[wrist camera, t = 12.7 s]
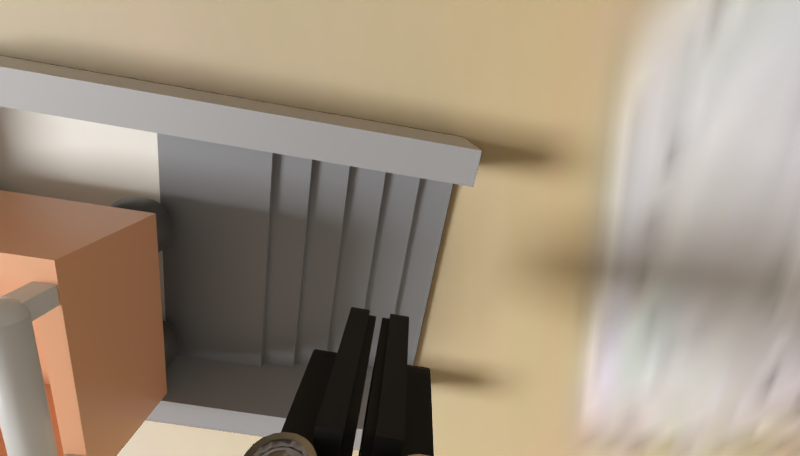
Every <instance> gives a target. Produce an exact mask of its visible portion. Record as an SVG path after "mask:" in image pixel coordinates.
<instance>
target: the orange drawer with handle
mask: <svg viewBox="0 0 800 456" xmlns="http://www.w3.org/2000/svg"><path fill="white" fill-rule="evenodd" d="M173 233H174V223H173V219H172V216H171V215H170V213H169V211H168V210H167V209H166V208H165V207H164V206H163V205H161V204H160V203H158V202H156V201H154V200H152V199H149V198H145V197H128V198H124V199H121V200H118V201H116V202H114V203H113V204H112V205H110V206H103V205H97V204H90V203H83V202H77V201H70V200H63V199H57V198H50V197H43V196H37V195H30V194H24V193H17V192H10V191H4V190H0V456H117V454H118V453H119V452H120V451H121V449H122V448H123V447H124V446H125V444H126V443H127V442H128V441H129V439H130V438H131V437H132V436H133V435H134V433H135V432H136V431H137V430H138V428H139V427H140V426H141V425H142V423H143V422H144V421H145V420H146V418H147V417H148V416H149V415H150V414H151V412H152V411H153V410H154V409H155V407H156V406H157V405H158V404H159V402H160V401H161V400H162V399H163V397H164V396H165V395H166V394H167V382H166V367H167V366H168V365H169V364H170V363H171V362H172V361H173V359H174V358H175V356H176V354H177V352H178V349H179V342H180V341H179V335H178V333H177V331H176V329H175V328H174V327H173V326H172V325H171V324H170V323H168V322H166V321H164V320H162V304H161V289H160V273H159V257H158V253H159V252H160V251H162V250H163V249H164V248H165V247H166V246H167V245H168V244H169V242H170V241H171V239H172V236H173Z"/></svg>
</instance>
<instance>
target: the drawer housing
mask: <svg viewBox="0 0 800 456" xmlns="http://www.w3.org/2000/svg"><path fill="white" fill-rule="evenodd" d="M481 153H482V150H480V149H479V148H477V147H476V146H475V145H473V144H472V143H470V142H469V141H468V140H466V139H465V138H463V137H461V136H455V135H450V134H444V133H438V132H432V131H427V130H421V129H415V128H410V127H404V126H398V125H393V124H387V123H381V122H376V121H370V120H364V119H359V118H353V117H347V116H342V115H336V114H330V113H325V112H319V111H313V110H307V109H302V108H296V107H290V106H285V105H279V104H273V103H268V102H262V101H256V100H251V99H245V98H239V97H234V96H228V95H222V94H217V93H211V92H205V91H200V90H194V89H188V88H182V87H177V86H171V85H165V84H160V83H154V82H148V81H143V80H137V79H131V78H126V77H120V76H114V75H109V74H103V73H97V72H92V71H86V70H80V69H75V68H69V67H63V66H57V65H52V64H46V63H40V62H35V61H29V60H23V59H18V58H12V57H6V56H1V55H0V190H4V191H10V192H17V193H24V194H30V195H37V196H43V197H50V198H57V199H63V200H70V201H77V202H83V203H90V204H97V205H103V206H110V205H112V204H113V203H114V202H116V201H118V200H121V199H124V198H128V197H145V198H149V199H152V200H154V201H156V202H158V203H160V204H161V205H163V206H164V207H165V208H166V209H167V210H168V211H169V213H170V215H171V216H172V219H173V223H174V233H173V236H172V239H171V241H170V242H169V244H168V245H167V246H166V247H165V248H164V249H163V250H162V251H160V252H159V253H158V257H159V273H160V289H161V304H162V320H164V321H166V322H168V323H170V324H171V325H172V326H173V327H174V328H175V329H176V331H177V333H178V335H179V341H180V342H179V349H178V352H177V354H176V356H175V358H174V359H173V361H172V362H171V363H170V364H169V365H168V366H167V367H166V382H167V394H166V395H165V396H164V397H163V399H162V400H161V401H160V402H159V404H158V405H157V406H156V407H155V409H154V410H153V411H152V412H151V414H150V415H149V416H148V417H147V418H146V420H148V421H155V422H162V423H169V424H176V425H183V426H190V427H197V428H204V429H212V430H219V431H226V432H233V433H240V434H247V435H254V436H261V437H266V436H268V435H271V434H274V433H281V431H282V428H283V425H284V423H285V420H286V418H287V415H288V413H289V410H290V408H291V405H292V403H293V400H294V398H295V395H296V393H297V390H298V388H299V385H300V383H301V380H302V378H303V375H304V373H305V370H306V368H307V365H308V363H309V360H310V358H311V355H312V353H313V351H314V350H315V349H318V350H324V351H330V352H336V353H337V352H338V349H339V346H340V343H341V339H342V336H343V333H344V329H345V326H346V323H347V320H348V316H349V313H350V310H351V307H355V308H361V309H367V310H370V314H369V315H372V316H376V322H375V328H374V333H373V339H372V345H371V351H370V357H369V362H368V368H367V374H366V380H365V386H364V391H363V397H362V403H361V408H360V414H359V419H358V425H357V430H356V436H355V441H354V447H353V449H354V450H360V444H361V438H362V431H363V425H364V419H365V413H366V407H367V401H368V395H369V389H370V383H371V378H372V372H373V367H374V361H375V356H376V350H377V345H378V339H379V333H380V328H381V322H382V317H383V318H390V314H396V315H402V316H408V317H409V334H408V358H407V365H413V363H414V359H415V354H416V350H417V345H418V341H419V336H420V332H421V327H422V323H423V318H424V313H425V309H426V304H427V300H428V295H429V291H430V286H431V282H432V277H433V273H434V268H435V263H436V259H437V254H438V250H439V245H440V241H441V236H442V232H443V227H444V223H445V218H446V213H447V209H448V204H449V200H450V195H451V191H452V186H453V184H458V185H464V186H470V187H474V182H475V178H476V174H477V170H478V166H479V161H480V157H481Z"/></svg>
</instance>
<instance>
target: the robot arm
mask: <svg viewBox="0 0 800 456" xmlns="http://www.w3.org/2000/svg"><path fill="white" fill-rule="evenodd" d="M369 314H370V310H367V309H361V308H355V307H351V310H350V313H349V316H348V320H347V323H346V326H345V329H344V333H343V336H342V339H341V343H340V346H339V349H338V352H337V353H336V352H330V351H324V350H318V349H315V350H314V351H313V353H312V355H311V358H310V360H309V363H308V365H307V368H306V370H305V373H304V375H303V378H302V380H301V383H300V385H299V388H298V390H297V393H296V395H295V398H294V400H293V403H292V405H291V408H290V410H289V413H288V415H287V418H286V420H285V423H284V425H283V428H282V431H281V433H274V434H271V435H268V436H266V437H263V438H262V439H260V440H259V441H257V442H256V443H255V444H253V445H252V446H251V448H250V449H249V450H248V451H247V452H246V453H245V455H244V456H352V452H353V447H354V441H355V436H356V430H357V425H358V419H359V414H360V408H361V403H362V397H363V391H364V386H365V380H366V374H367V368H368V362H369V357H370V351H371V345H372V339H373V333H374V328H375V322H376V316H372V315H369ZM408 334H409V317H408V316H402V315H396V314H390V318H383V317H382V322H381V328H380V333H379V339H378V345H377V350H376V356H375V361H374V367H373V372H372V378H371V383H370V389H369V395H368V401H367V407H366V413H365V419H364V425H363V431H362V438H361V444H360V450H359V456H434V453H433V428H432V403H431V378H430V369H429V368H424V367H418V366H413V365H407V358H408Z"/></svg>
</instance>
